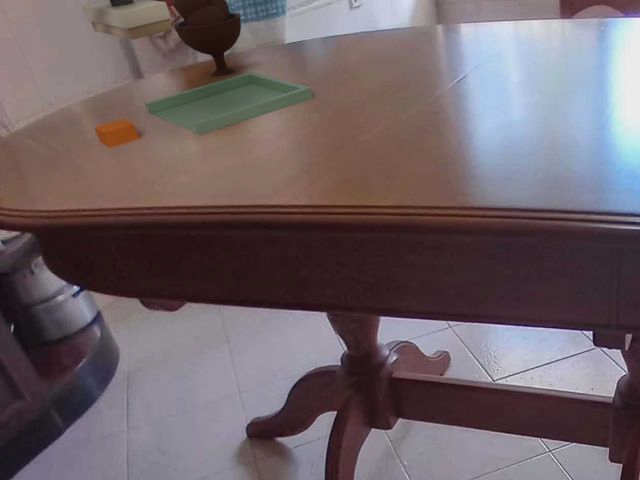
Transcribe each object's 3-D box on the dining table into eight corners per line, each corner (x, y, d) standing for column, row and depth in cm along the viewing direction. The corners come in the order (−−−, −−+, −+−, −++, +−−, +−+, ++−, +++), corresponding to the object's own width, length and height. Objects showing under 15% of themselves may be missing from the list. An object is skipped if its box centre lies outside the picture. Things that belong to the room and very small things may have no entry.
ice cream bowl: (248, 84, 118) (219, -15, 109) (183, 90, 118) (150, -8, 110) (264, 67, 126) (238, -26, 118) (203, 73, 127) (174, -19, 118)
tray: (150, 119, 106) (144, 102, 105) (255, 87, 116) (251, 71, 114) (203, 141, 95) (197, 123, 94) (314, 104, 105) (310, 87, 103)
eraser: (103, 148, 97) (93, 127, 95) (131, 139, 99) (122, 118, 97) (113, 154, 94) (104, 132, 93) (142, 145, 96) (133, 123, 95)
